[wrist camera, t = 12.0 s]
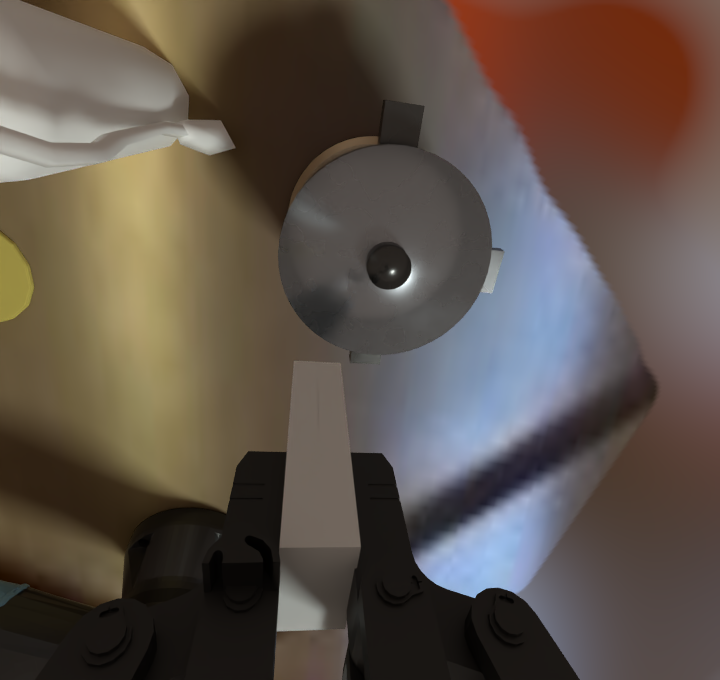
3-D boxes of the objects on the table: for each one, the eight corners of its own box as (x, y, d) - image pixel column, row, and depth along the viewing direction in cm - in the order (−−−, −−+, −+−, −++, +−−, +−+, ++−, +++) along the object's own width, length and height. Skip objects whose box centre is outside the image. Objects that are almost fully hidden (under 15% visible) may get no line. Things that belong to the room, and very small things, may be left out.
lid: (276, 341, 30) (273, 357, 28) (283, 128, 24) (280, 129, 22) (468, 354, 32) (478, 369, 31) (524, 161, 26) (541, 165, 24)
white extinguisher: (221, 195, 33) (9, 323, 11) (59, 111, 30) (-709, 53, 8) (253, 111, 31) (67, 56, 9) (82, 10, 28) (-944, -502, 5)
